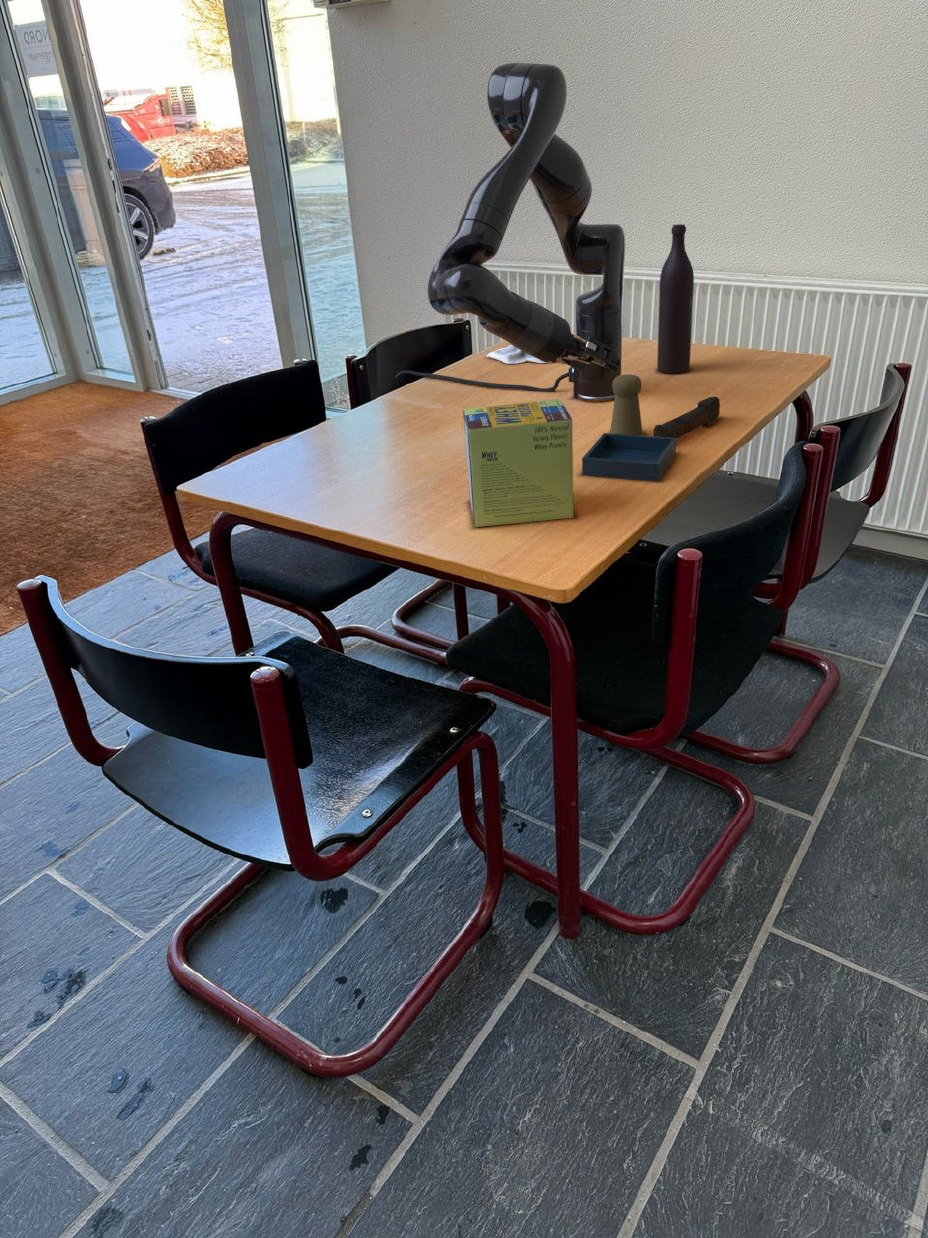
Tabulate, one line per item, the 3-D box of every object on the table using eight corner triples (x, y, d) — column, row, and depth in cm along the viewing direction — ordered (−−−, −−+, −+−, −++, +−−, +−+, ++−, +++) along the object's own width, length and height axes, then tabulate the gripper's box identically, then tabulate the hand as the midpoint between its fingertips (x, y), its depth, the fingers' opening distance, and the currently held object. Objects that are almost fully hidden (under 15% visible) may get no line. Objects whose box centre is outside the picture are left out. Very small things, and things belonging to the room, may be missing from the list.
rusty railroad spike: (670, 448, 160) (671, 423, 158) (651, 444, 163) (652, 419, 160) (731, 420, 171) (733, 396, 168) (712, 416, 173) (714, 392, 171)
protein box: (575, 518, 138) (573, 418, 130) (474, 528, 137) (466, 429, 129) (563, 492, 147) (561, 397, 139) (468, 501, 146) (461, 407, 138)
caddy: (582, 475, 152) (582, 458, 151) (603, 449, 163) (603, 432, 161) (658, 481, 148) (659, 464, 146) (675, 454, 158) (676, 437, 156)
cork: (635, 442, 164) (636, 381, 159) (604, 438, 167) (604, 378, 162) (647, 431, 169) (649, 372, 163) (617, 428, 172) (618, 370, 166)
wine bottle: (692, 373, 199) (699, 225, 184) (660, 375, 200) (664, 228, 185) (686, 364, 205) (692, 221, 190) (654, 366, 206) (658, 224, 191)
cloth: (479, 363, 220) (477, 337, 217) (506, 344, 235) (505, 319, 232) (566, 366, 212) (566, 339, 209) (589, 346, 226) (589, 321, 223)
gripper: (572, 306, 141) (637, 345, 152) (514, 308, 152) (578, 344, 163) (558, 353, 142) (624, 388, 152) (501, 352, 153) (566, 385, 163)
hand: (600, 365), depth 158 cm, fingers open, 8 cm apart
